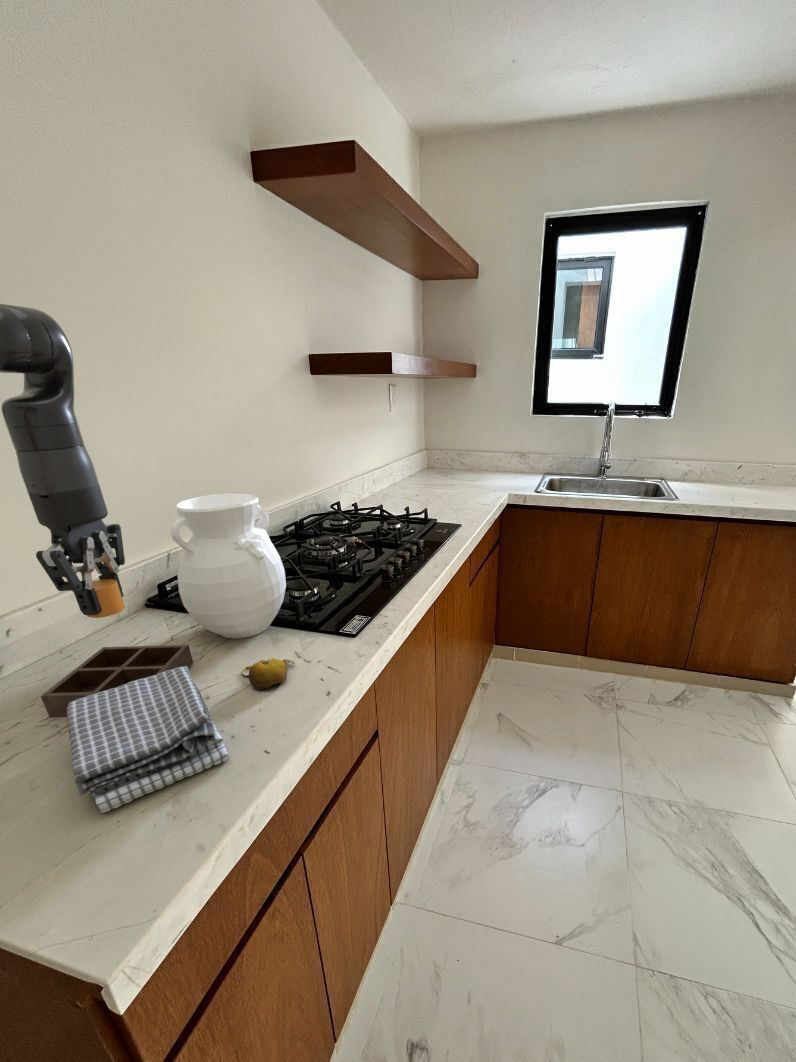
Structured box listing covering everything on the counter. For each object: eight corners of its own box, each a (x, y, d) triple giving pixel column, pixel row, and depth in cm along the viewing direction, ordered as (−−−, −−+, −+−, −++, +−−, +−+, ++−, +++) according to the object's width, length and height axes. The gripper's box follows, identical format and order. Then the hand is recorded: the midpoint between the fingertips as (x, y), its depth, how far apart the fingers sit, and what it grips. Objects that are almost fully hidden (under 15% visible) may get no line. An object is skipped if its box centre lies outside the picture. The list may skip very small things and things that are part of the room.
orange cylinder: (79, 618, 69) (69, 591, 67) (99, 605, 73) (91, 579, 71) (113, 617, 69) (104, 590, 67) (131, 603, 73) (123, 578, 71)
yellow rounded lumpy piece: (293, 660, 85) (290, 641, 84) (298, 685, 78) (295, 665, 77) (241, 670, 83) (237, 651, 81) (242, 697, 76) (237, 676, 74)
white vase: (265, 600, 110) (244, 486, 100) (310, 625, 98) (291, 498, 88) (176, 629, 98) (141, 502, 88) (215, 661, 86) (180, 519, 76)
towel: (198, 698, 76) (186, 653, 72) (233, 764, 62) (220, 713, 59) (78, 739, 67) (58, 690, 64) (87, 826, 54) (63, 770, 51)
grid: (49, 717, 72) (40, 696, 71) (109, 665, 85) (102, 646, 84) (149, 714, 72) (142, 693, 71) (193, 662, 85) (188, 644, 84)
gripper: (71, 476, 70) (108, 588, 77) (-13, 497, 57) (40, 630, 64) (125, 474, 70) (157, 586, 77) (53, 495, 57) (100, 628, 64)
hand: (104, 605), depth 70 cm, fingers closed on orange cylinder, 4 cm apart
